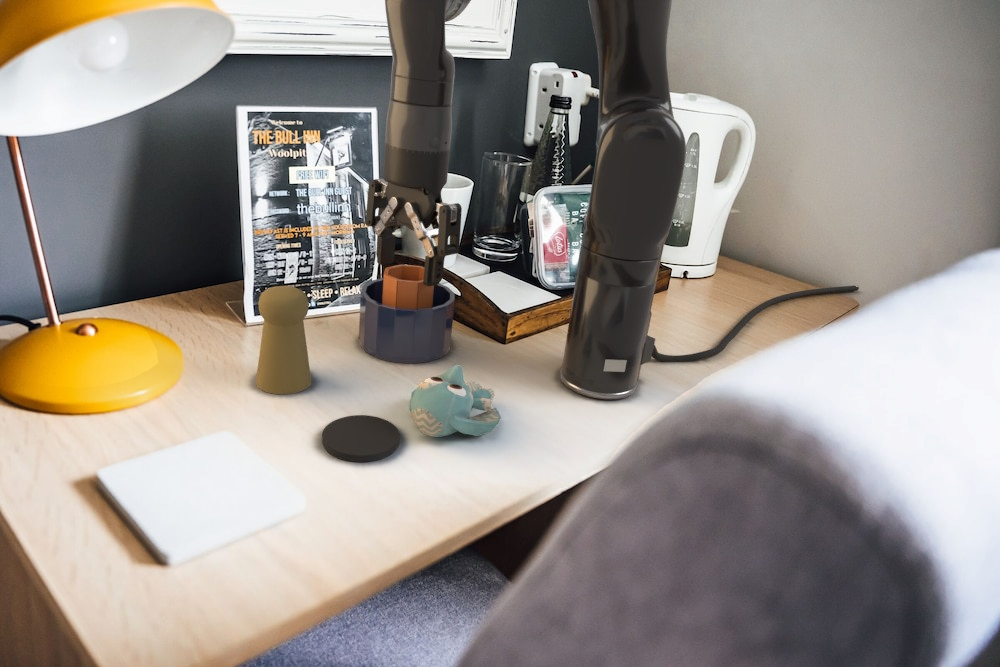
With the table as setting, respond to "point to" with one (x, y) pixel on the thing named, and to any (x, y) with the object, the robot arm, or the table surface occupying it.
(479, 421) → the stuffed animal
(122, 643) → the table surface
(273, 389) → the olive brown pawn
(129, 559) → the table surface
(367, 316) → the big pot
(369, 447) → the disc
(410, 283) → the copper pot
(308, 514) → the table surface
